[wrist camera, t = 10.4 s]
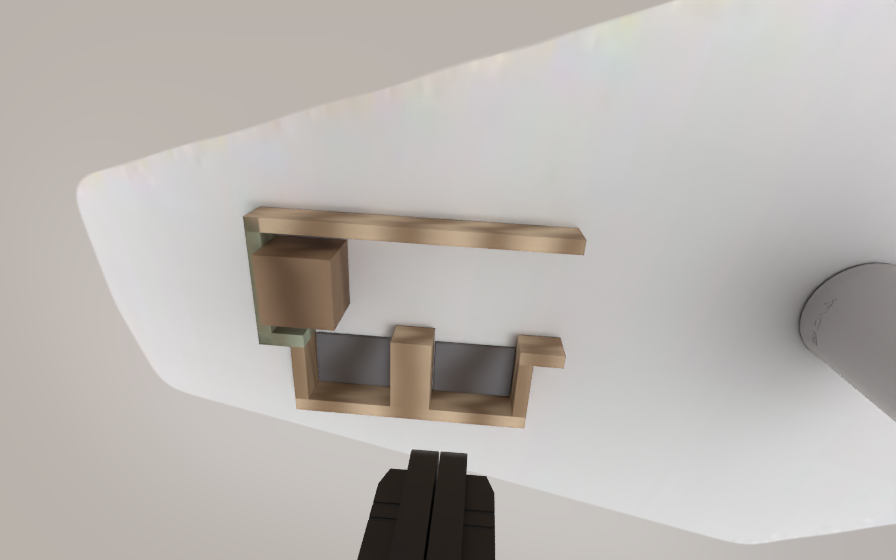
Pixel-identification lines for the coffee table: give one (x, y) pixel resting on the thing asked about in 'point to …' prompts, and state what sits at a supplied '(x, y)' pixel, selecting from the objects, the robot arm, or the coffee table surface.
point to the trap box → (411, 330)
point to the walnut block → (302, 282)
